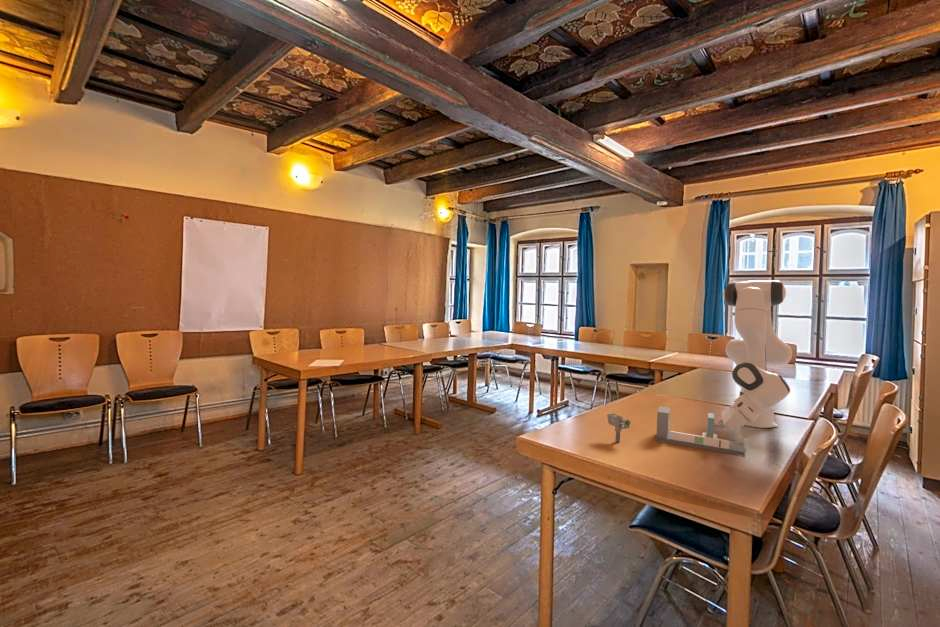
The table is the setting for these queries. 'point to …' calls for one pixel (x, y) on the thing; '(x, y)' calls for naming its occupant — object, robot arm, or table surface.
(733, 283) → the robot arm
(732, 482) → the table surface
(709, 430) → the block
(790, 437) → the table surface
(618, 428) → the mechanical component
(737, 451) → the bench
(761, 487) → the table surface
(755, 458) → the table surface
